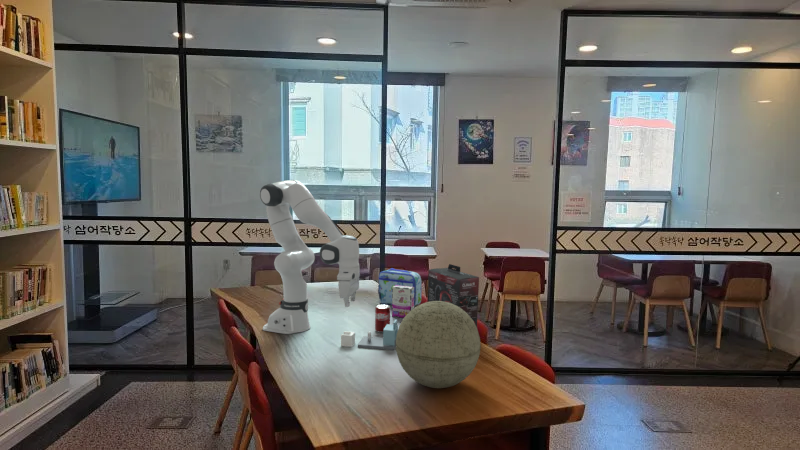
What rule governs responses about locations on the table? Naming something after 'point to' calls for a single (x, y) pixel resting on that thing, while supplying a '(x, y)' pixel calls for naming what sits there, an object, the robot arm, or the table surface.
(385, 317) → the soda can
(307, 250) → the robot arm
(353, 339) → the jaw
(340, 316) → the table surface
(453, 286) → the headset box
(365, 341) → the plate
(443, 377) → the celestial globe
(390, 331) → the cover
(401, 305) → the candy bar box
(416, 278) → the lunch box
